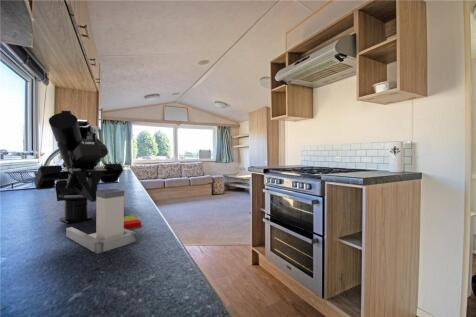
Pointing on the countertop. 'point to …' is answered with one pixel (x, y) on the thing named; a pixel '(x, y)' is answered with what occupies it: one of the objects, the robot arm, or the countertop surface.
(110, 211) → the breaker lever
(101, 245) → the frame
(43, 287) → the countertop surface
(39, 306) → the countertop surface
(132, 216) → the popsicle
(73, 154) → the robot arm
